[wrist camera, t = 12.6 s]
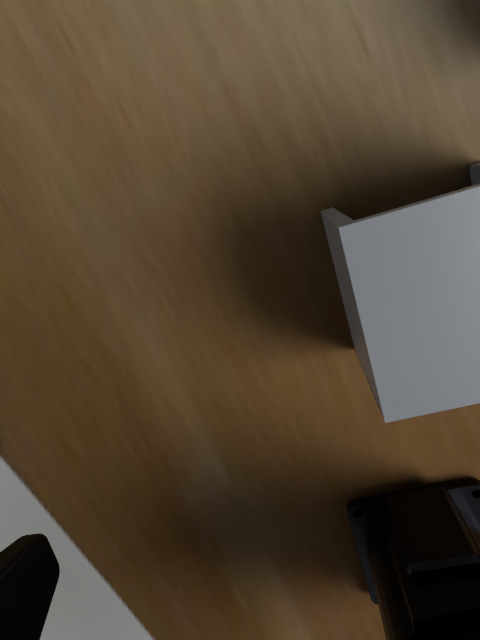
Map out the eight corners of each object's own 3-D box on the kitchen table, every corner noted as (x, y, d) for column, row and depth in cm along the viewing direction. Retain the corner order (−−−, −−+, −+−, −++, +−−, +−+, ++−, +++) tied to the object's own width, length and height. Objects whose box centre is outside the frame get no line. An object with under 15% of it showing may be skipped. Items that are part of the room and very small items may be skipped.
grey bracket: (504, 313, 18) (605, 376, 12) (354, 349, 19) (385, 422, 13) (482, 161, 16) (589, 153, 11) (320, 210, 17) (338, 227, 12)
